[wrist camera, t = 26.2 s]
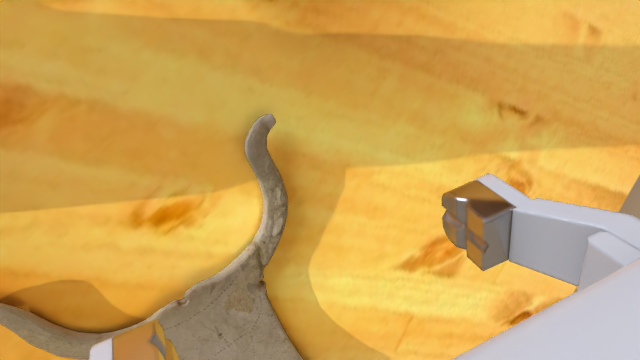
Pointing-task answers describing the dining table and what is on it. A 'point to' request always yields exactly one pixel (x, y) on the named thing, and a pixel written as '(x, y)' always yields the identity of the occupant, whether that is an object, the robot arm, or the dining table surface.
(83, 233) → the dining table surface
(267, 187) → the decorative wall piece
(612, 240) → the robot arm
